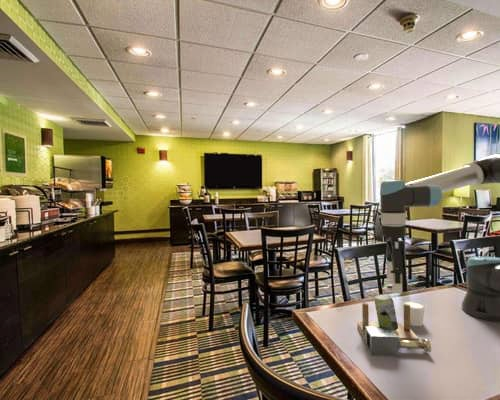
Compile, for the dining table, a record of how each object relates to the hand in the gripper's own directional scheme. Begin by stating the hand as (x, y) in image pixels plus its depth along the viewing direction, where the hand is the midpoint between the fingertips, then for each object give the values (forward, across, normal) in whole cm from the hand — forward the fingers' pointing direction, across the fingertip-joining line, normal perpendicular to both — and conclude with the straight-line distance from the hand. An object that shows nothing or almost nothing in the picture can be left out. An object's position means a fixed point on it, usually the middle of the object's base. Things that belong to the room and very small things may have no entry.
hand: (394, 285), depth 92 cm
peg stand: (+18, 0, -3) cm, 19 cm away
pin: (+18, +8, +3) cm, 20 cm away
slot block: (+18, +10, -5) cm, 21 cm away
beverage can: (+16, -1, -3) cm, 17 cm away
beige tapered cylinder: (+19, -14, +9) cm, 25 cm away
